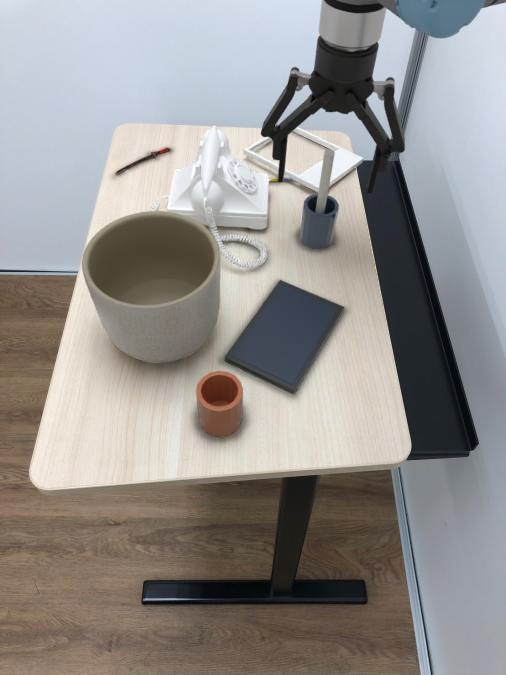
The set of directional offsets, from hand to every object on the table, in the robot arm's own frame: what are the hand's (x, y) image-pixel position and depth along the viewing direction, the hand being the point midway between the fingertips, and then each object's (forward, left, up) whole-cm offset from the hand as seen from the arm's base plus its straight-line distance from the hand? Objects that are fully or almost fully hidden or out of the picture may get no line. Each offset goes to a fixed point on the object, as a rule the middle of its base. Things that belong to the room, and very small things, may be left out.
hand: (325, 182), depth 82 cm
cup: (-4, +37, -11) cm, 39 cm away
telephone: (+18, +5, -11) cm, 22 cm away
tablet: (-5, +21, -11) cm, 24 cm away
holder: (0, 0, -11) cm, 11 cm away
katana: (+40, -2, -11) cm, 41 cm away
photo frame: (+2, -16, -10) cm, 19 cm away
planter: (+11, +29, -12) cm, 33 cm away
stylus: (0, 0, -11) cm, 11 cm away
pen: (+13, -10, -11) cm, 19 cm away
